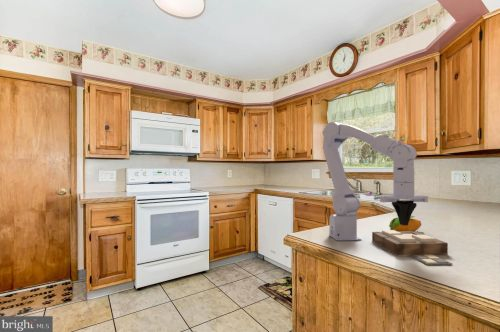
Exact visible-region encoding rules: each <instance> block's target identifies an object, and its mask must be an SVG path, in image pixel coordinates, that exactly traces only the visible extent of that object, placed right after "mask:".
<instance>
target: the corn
mask: <svg viewBox="0 0 500 332" xmlns="http://www.w3.org/2000/svg"><path fill="white" fill-rule="evenodd" d="M415 217H416V216H414V215H411V217H410V220H409V223H408V225H401V224H400V222H399V218H398V217H394V218H392V219H391V220H390V221H389V225H388V227H389V230H395V231H397V232H410V231H416V232H418V233H419V229H420V227H421V226H422V222H421V220H419V219H416V218H415Z"/></svg>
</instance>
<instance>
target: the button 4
mask: <svg viewBox="0 0 500 332" xmlns="http://www.w3.org/2000/svg"><path fill="white" fill-rule="evenodd" d="M412 238H415V240H417V241H419V242H435V239H436V237H432V236H429V235H426V234H424V235H412Z"/></svg>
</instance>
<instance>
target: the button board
mask: <svg viewBox="0 0 500 332" xmlns="http://www.w3.org/2000/svg"><path fill="white" fill-rule="evenodd" d="M371 233H372V234H371V237H372V239H371V242H372V243H373V244H376V245H377V246H379V247H381V248H383V249H385V250H386V251H387V252H390V253H391V254H393V255H395V256H410V255H435V256H439V255H441V256H442V255H445V256H446V255H448V254H449V252H448V248H449V247H448V244H449V243H448V242H445V241H443V240H440V239H437V238H435V242H419V241H417V240H415V242H407V243H401V242H399V241H397V240H395V239H393V237H388V236H386V235H384V234H382V231H371ZM400 233H402V234H414V235H425V234H424V233H421V232H419V231H418V232H417V230H416V231H410V232H400Z"/></svg>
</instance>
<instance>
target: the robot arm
mask: <svg viewBox="0 0 500 332" xmlns="http://www.w3.org/2000/svg"><path fill="white" fill-rule="evenodd" d="M322 136H323V142H322V149H323V154H324V157H325V161H326V164H327V167H328V171H329V174H330V179H331V182H332V185H333V189H334V192H333V193H332V208H333V211H334V212H335V213H334V214H331V215H330V216H329V221H328V222H329V224H328V225H329V231H328V232H329V233H328V235H329V236H330V237H331V238H333V240H335V241H362V238H361V237H359V236H358V234H357V233H358V230H357V229H358V226H357V225H358V210H359V209H360V208H361V207H360V206H361V202H360V199H359V198H358V197H357V196H356V193H355V191H354V190H353V189H352V188H351V187H350V185H349V181H348V179H347V176H346V172H345V168H344V165H343V161H342V158H341V155H340V152H339V149H340V147H341V146H342V144H343V143H345V141H347V140H348V139H349V138H351V139H352V138H354V139H357V140H359V141H361V142H363V143H366V144H368V145H370V147H371V150H373V151H375V152H377V153H379V154H382V155H383V156H386V157H387V158H390V159H391V160H392V161H393V162H392V163H393V168H392V169H393V170H392V172H393V176H392V177H393V185H392V186H393V189H392V190H393V194H390V195H388V194H387V195H379V202H380V203H391V206H392V207H393V209H394V210H395V213H396V215H397V218H399V222H400V224H401V225H408V223H409V220H410V219H411V218H410V217H411V216H412V214H413V212H414V211H415V209H416V208H417V205H418V203H420V202H421V203H429V196H428V195H423V194H422V195H417V194H416V195H415V159H416V158H417V156H418V153H417V149H416V148H415V147H414V146H412V145H411V144H406V143H405V144H403V141H402V140H400V139H399V140H396V139H393V138H391V137H390V135H389V134H386V133H384V134H378V135H374V134H372V133H370V132H368V131H365V130H363V129H361V128H358V127H357V126H353V125H349V124H346V123H339V122H335V121H329V122H328V123H327V124H326V125H325V126H324V128H323V130H322Z"/></svg>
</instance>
